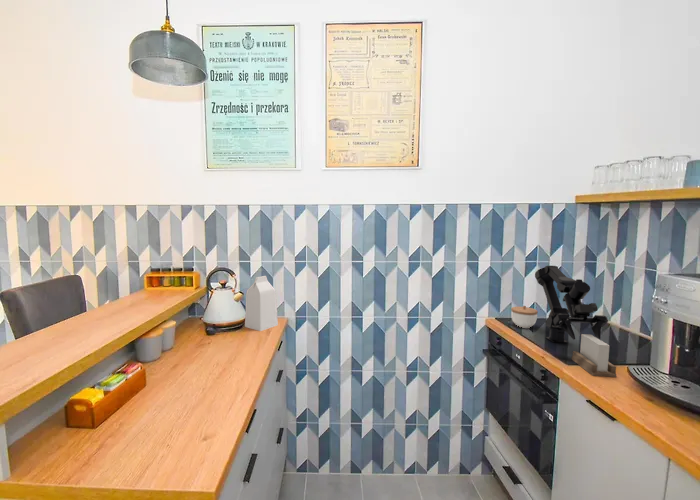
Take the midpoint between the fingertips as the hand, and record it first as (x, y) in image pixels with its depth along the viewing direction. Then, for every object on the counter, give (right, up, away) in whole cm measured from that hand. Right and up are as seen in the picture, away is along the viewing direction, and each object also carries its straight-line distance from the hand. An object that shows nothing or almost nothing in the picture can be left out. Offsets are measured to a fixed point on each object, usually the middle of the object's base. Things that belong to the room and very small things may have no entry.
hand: (586, 339), depth 138 cm
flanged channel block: (-1, -10, -4) cm, 11 cm away
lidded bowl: (-2, -5, +47) cm, 48 cm away
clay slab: (-1, -8, -4) cm, 10 cm away
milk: (-140, -4, +43) cm, 147 cm away
